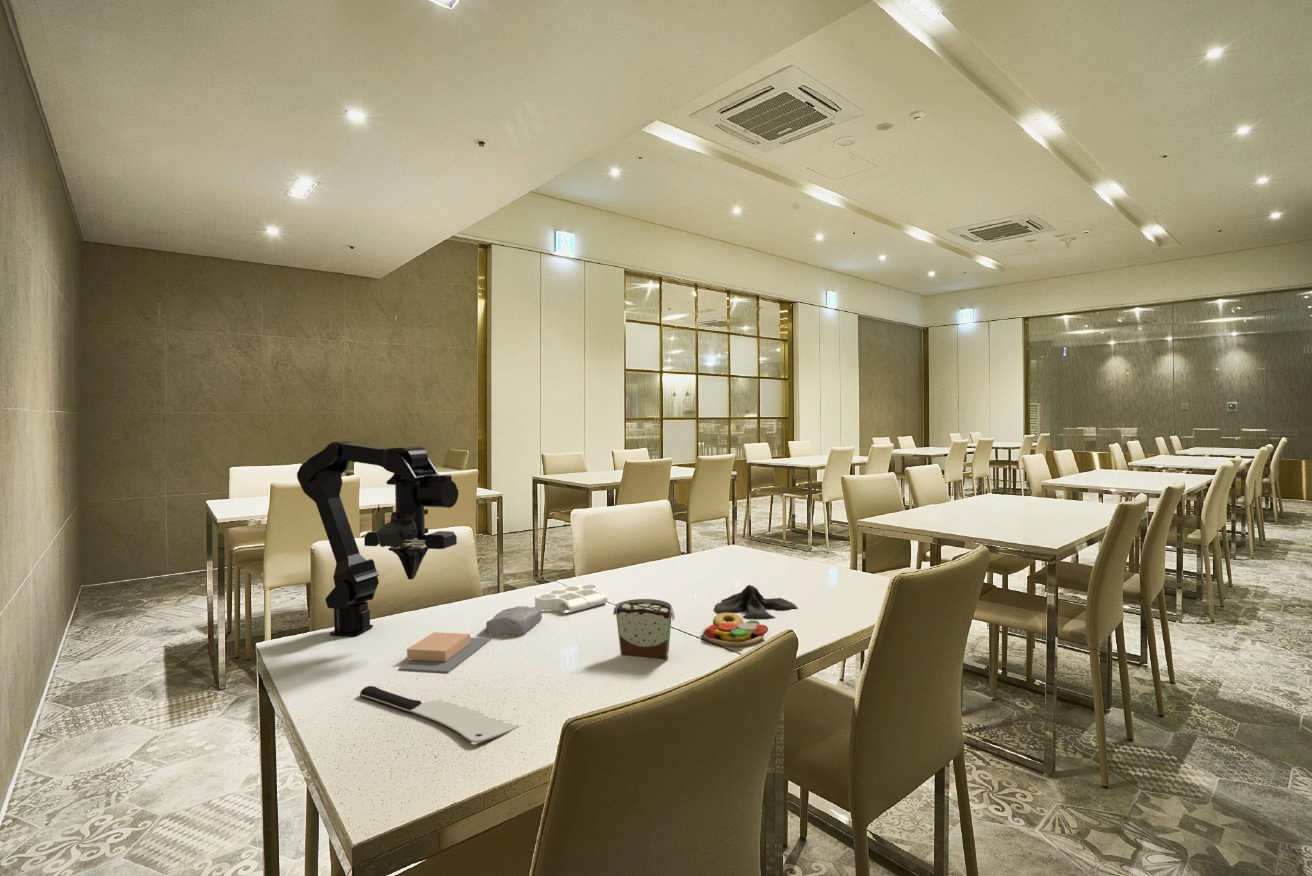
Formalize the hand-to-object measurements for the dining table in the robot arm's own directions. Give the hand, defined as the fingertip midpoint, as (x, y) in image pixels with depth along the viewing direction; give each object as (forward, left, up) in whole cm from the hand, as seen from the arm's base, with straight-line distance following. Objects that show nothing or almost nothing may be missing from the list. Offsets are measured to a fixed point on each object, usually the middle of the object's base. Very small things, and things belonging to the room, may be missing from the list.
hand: (411, 579), depth 137 cm
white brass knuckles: (+26, +30, -14) cm, 41 cm away
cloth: (+70, +33, -14) cm, 78 cm away
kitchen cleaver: (+23, -31, -14) cm, 41 cm away
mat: (+12, -7, -13) cm, 19 cm away
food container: (+52, -1, -13) cm, 53 cm away
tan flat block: (+6, -7, -11) cm, 15 cm away
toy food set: (+68, +11, -13) cm, 70 cm away
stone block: (+18, +10, -13) cm, 25 cm away
